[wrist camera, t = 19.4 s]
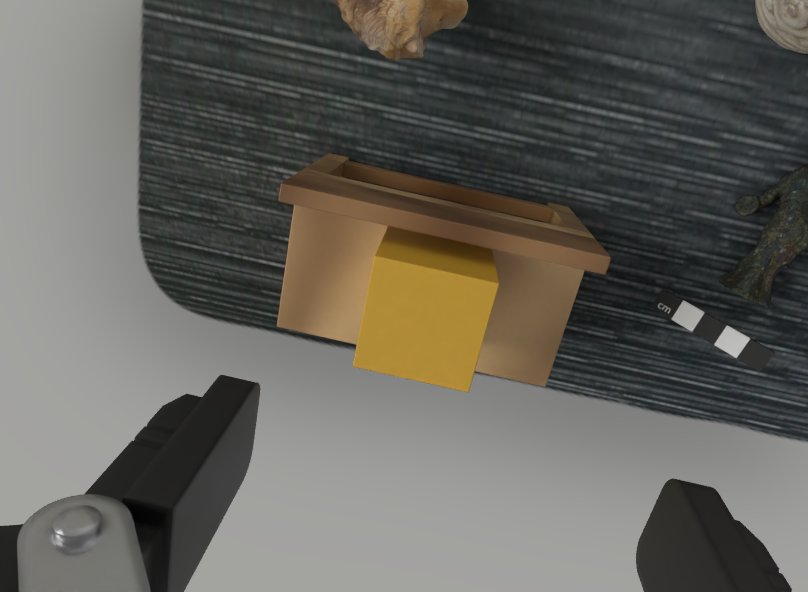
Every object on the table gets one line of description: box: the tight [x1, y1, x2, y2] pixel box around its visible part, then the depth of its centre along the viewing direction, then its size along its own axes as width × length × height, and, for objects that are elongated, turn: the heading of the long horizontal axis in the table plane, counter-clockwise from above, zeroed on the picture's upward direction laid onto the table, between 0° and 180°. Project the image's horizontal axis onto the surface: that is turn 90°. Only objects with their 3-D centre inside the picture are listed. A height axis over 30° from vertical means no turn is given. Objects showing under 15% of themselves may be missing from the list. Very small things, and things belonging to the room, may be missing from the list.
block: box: [353, 226, 499, 392], centre depth 26 cm, size 5×5×5 cm
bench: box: [277, 153, 611, 387], centre depth 31 cm, size 14×8×10 cm, turn 78°
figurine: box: [651, 165, 808, 372], centre depth 31 cm, size 6×4×12 cm
